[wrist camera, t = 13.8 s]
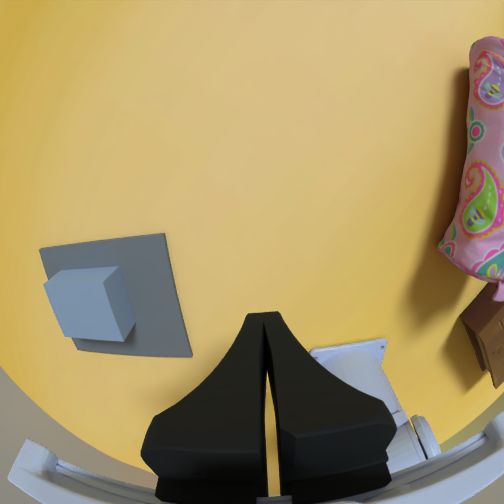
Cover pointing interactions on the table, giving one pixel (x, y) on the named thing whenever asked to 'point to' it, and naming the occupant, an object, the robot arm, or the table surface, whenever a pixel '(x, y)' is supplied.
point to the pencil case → (482, 173)
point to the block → (91, 303)
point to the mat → (132, 292)
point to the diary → (487, 332)
